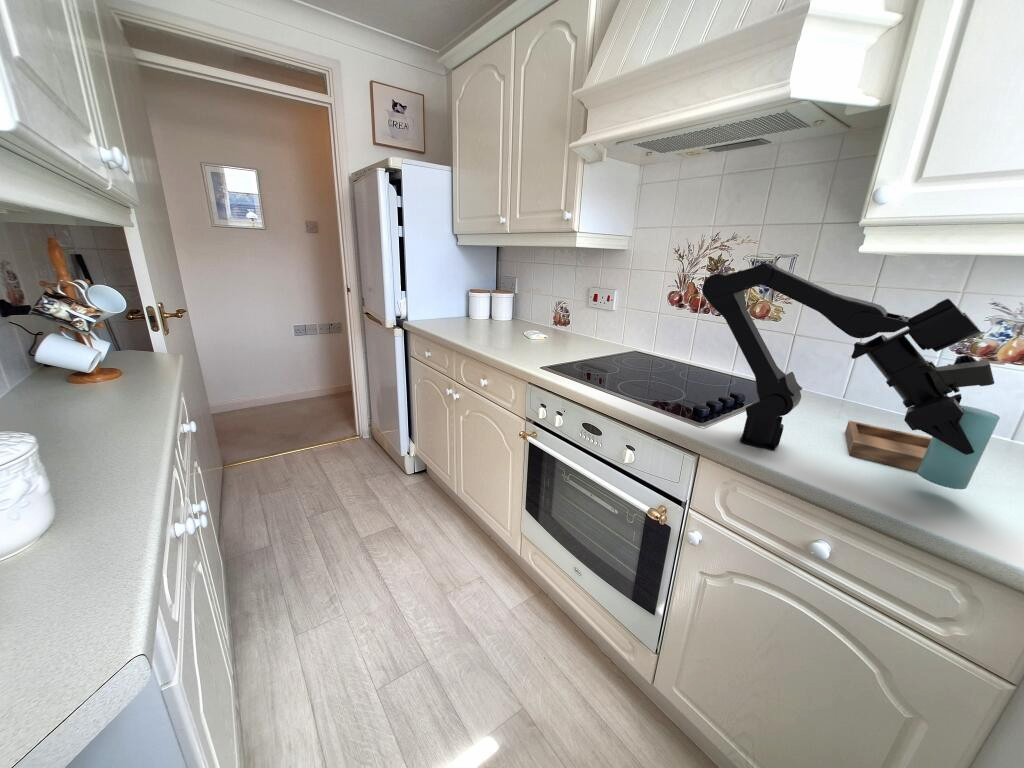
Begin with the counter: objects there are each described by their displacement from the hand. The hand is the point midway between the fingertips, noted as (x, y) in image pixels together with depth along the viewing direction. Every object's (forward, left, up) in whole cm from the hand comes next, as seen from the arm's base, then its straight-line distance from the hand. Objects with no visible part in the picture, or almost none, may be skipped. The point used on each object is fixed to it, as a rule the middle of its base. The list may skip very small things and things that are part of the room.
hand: (969, 447), depth 66 cm
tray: (-4, +17, -10) cm, 21 cm away
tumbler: (-1, 0, -7) cm, 7 cm away
